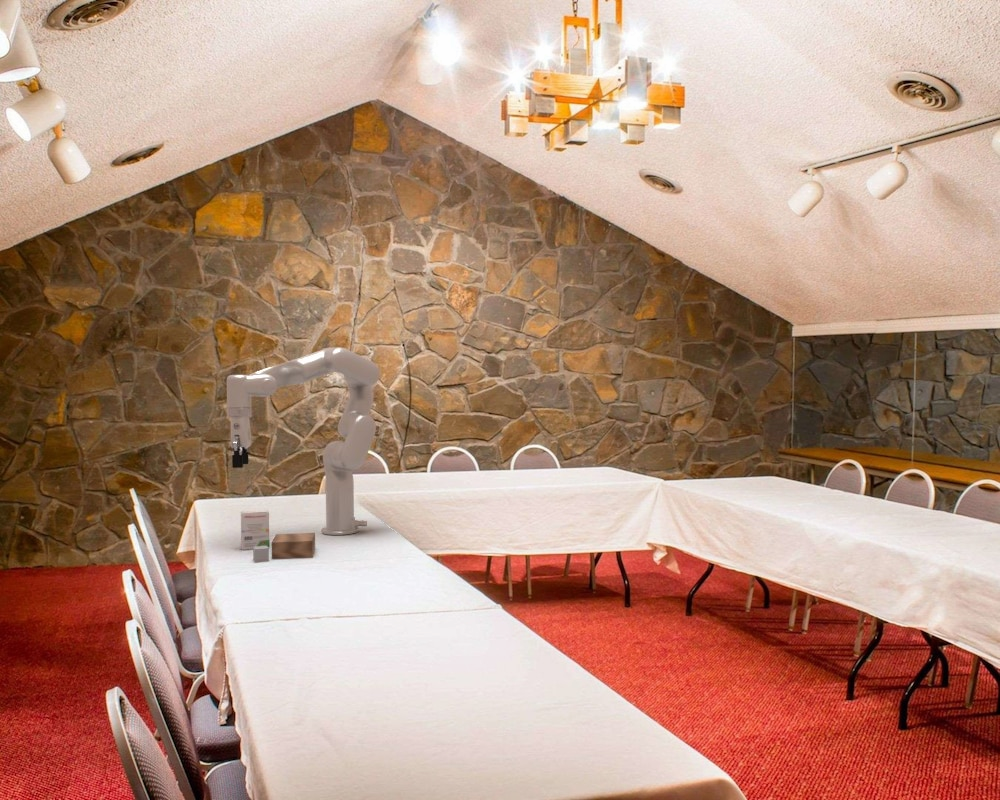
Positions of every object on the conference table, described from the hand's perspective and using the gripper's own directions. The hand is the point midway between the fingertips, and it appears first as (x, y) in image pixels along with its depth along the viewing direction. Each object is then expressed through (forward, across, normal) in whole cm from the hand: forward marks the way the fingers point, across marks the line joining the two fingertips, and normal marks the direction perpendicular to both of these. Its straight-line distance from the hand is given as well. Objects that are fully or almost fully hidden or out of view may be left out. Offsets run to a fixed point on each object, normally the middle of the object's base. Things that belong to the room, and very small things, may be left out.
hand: (240, 465), depth 295 cm
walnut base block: (+26, -16, -18) cm, 35 cm away
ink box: (+26, -5, -5) cm, 27 cm away
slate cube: (+26, -24, -10) cm, 37 cm away
